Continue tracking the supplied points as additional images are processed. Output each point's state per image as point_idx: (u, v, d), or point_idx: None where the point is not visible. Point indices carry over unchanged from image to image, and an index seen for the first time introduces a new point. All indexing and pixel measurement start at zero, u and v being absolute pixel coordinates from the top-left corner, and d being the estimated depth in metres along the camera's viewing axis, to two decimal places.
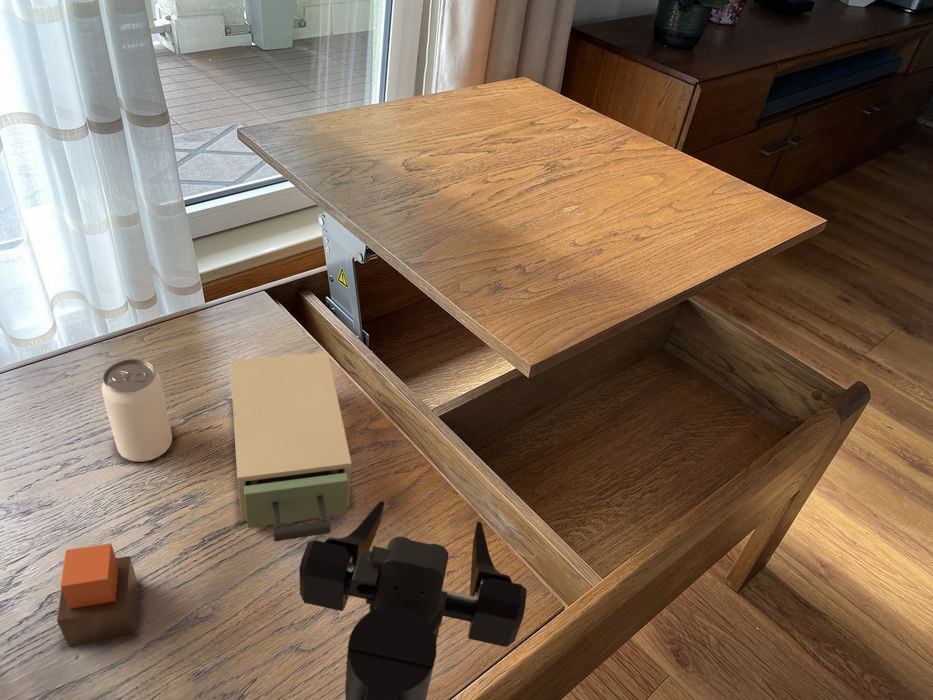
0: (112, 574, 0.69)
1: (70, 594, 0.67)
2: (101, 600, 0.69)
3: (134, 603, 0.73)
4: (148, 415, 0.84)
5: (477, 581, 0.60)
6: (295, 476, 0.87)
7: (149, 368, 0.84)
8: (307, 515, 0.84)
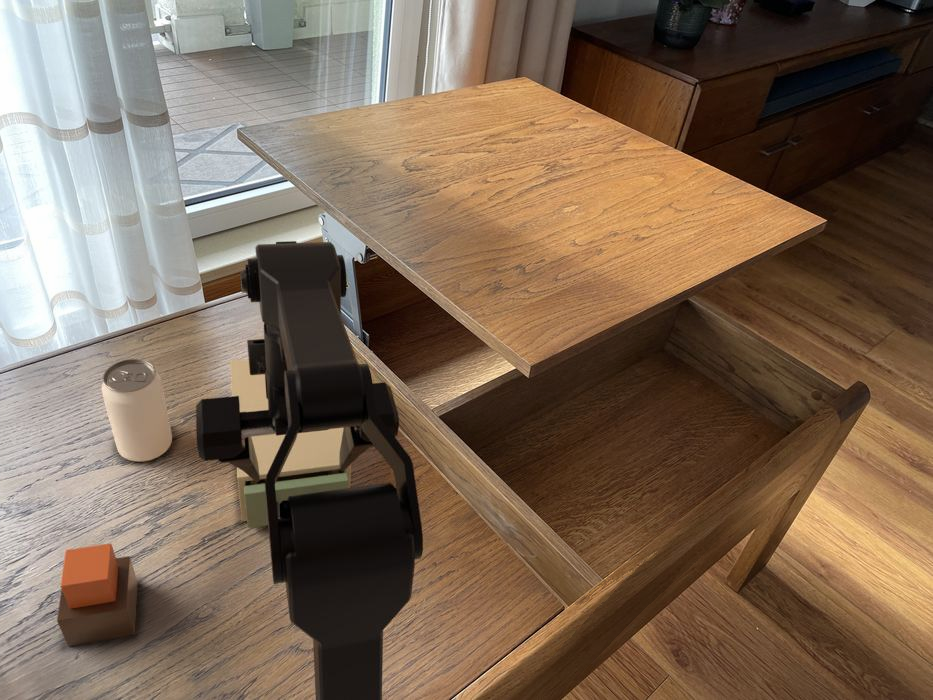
0: (112, 574, 0.69)
1: (70, 594, 0.67)
2: (101, 600, 0.69)
3: (134, 603, 0.73)
4: (148, 415, 0.84)
5: None
6: (295, 476, 0.87)
7: (149, 368, 0.84)
8: None
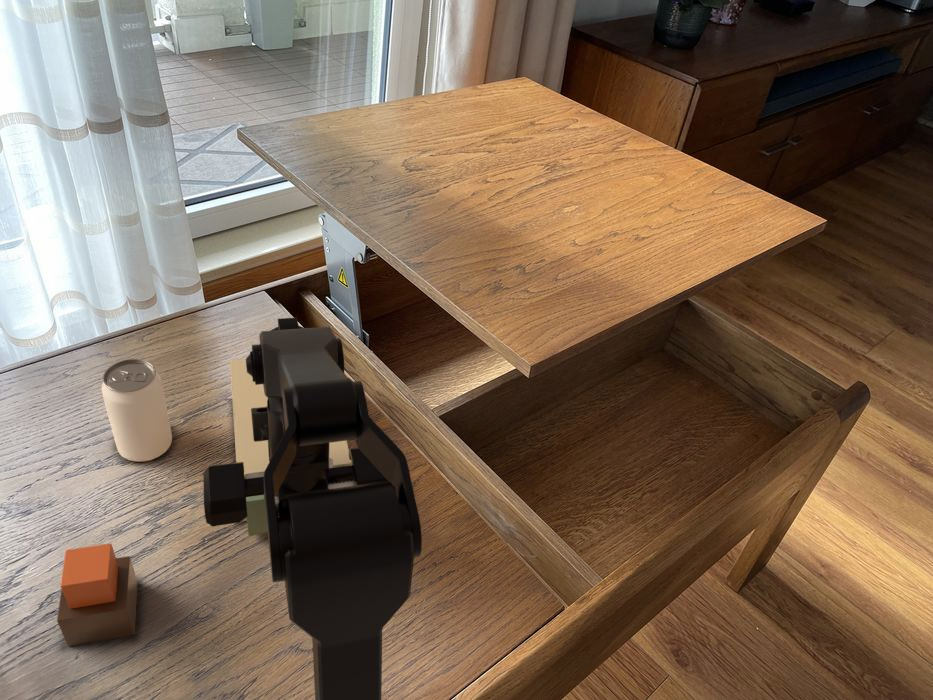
0: (112, 574, 0.69)
1: (70, 594, 0.67)
2: (101, 600, 0.69)
3: (134, 603, 0.73)
4: (148, 415, 0.84)
5: None
6: None
7: (149, 368, 0.84)
8: None
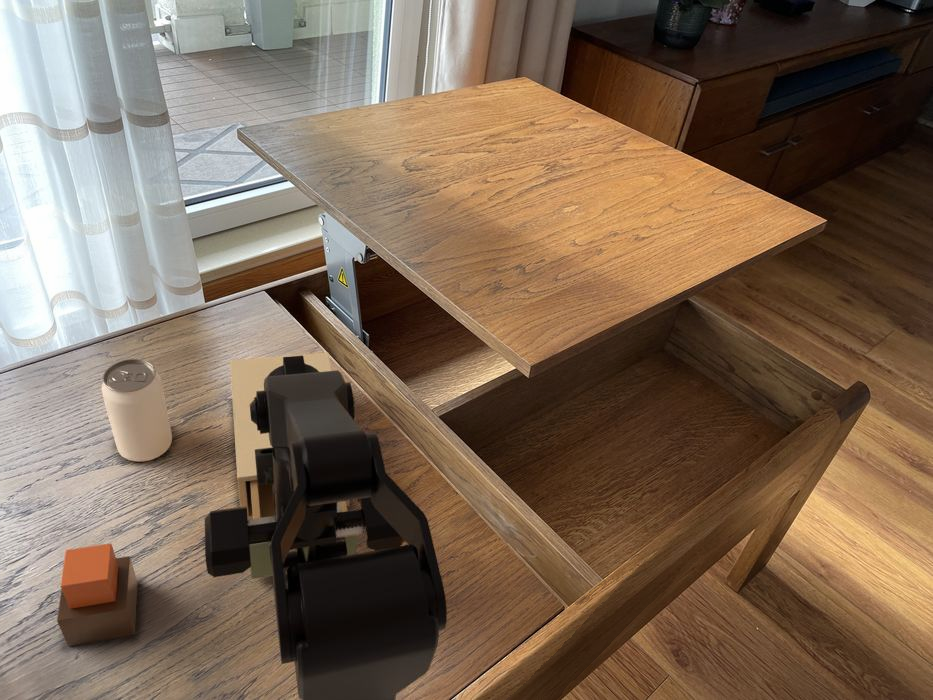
0: (112, 574, 0.69)
1: (70, 594, 0.67)
2: (101, 600, 0.69)
3: (134, 603, 0.73)
4: (148, 415, 0.84)
5: None
6: None
7: (149, 368, 0.84)
8: None
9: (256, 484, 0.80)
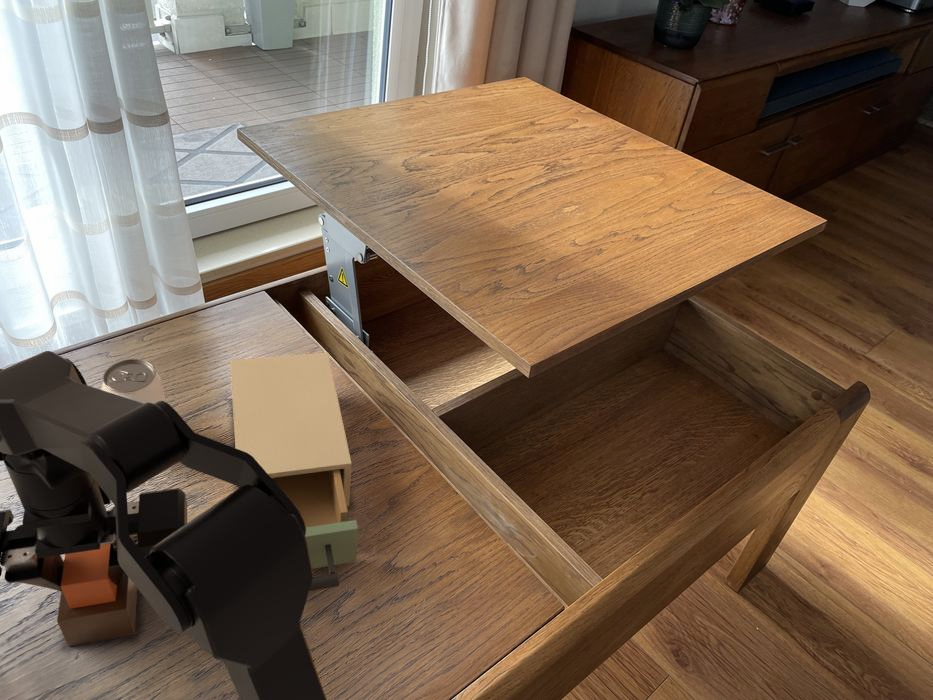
0: None
1: (70, 594, 0.67)
2: (101, 600, 0.69)
3: (134, 603, 0.73)
4: None
5: None
6: None
7: (149, 368, 0.84)
8: (314, 564, 0.79)
9: None
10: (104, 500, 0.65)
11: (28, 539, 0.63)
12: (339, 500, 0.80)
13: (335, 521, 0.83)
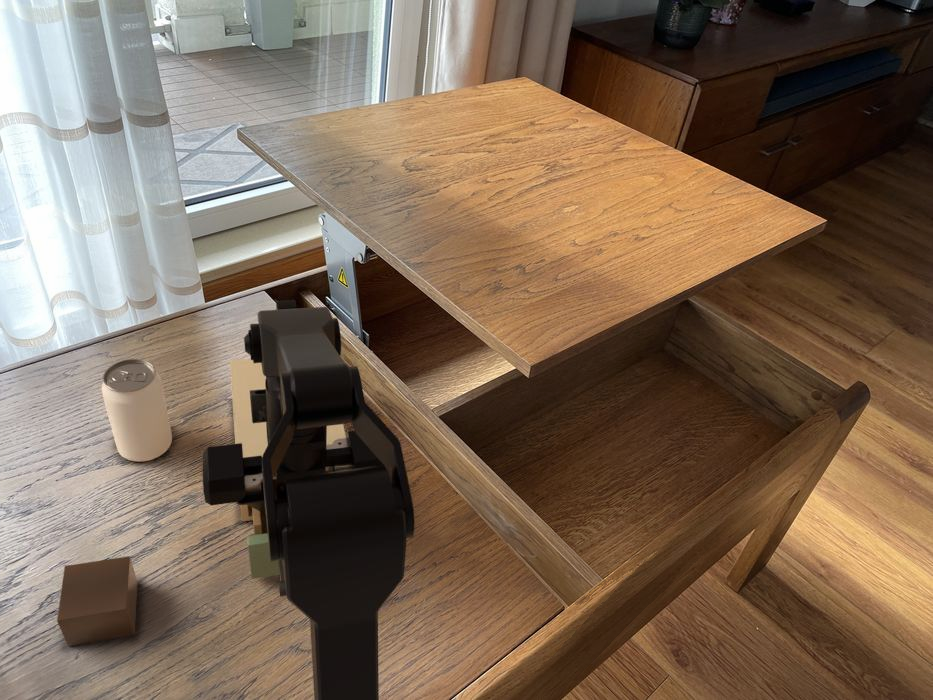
0: None
1: None
2: None
3: (134, 603, 0.73)
4: (148, 415, 0.84)
5: None
6: None
7: (149, 368, 0.84)
8: None
9: None
10: None
11: None
12: None
13: None
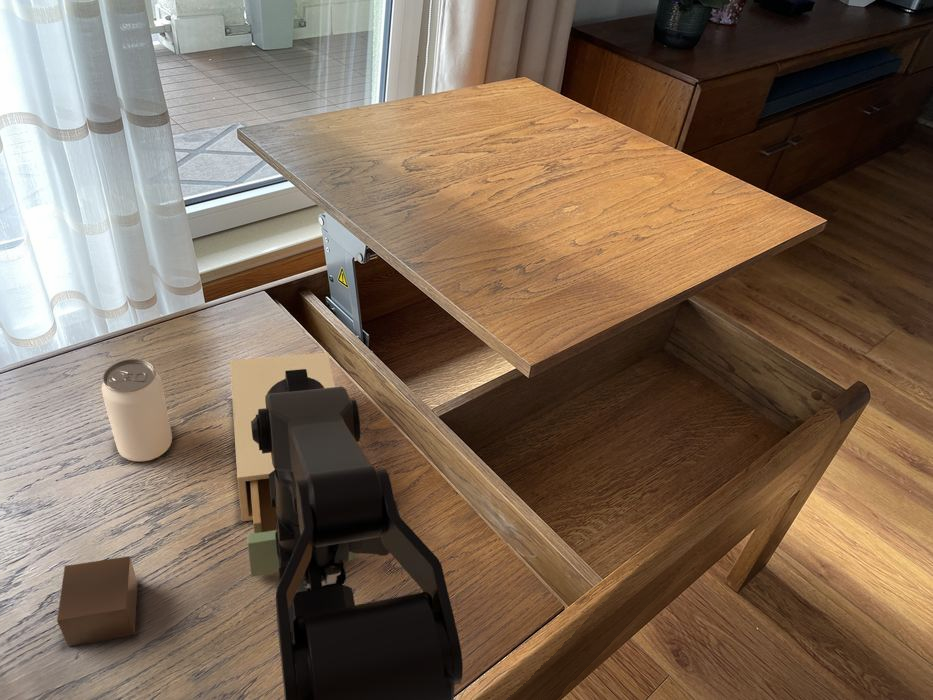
0: None
1: None
2: None
3: (134, 603, 0.73)
4: (148, 415, 0.84)
5: None
6: None
7: (149, 368, 0.84)
8: None
9: (256, 482, 0.80)
10: (333, 555, 0.65)
11: None
12: None
13: None
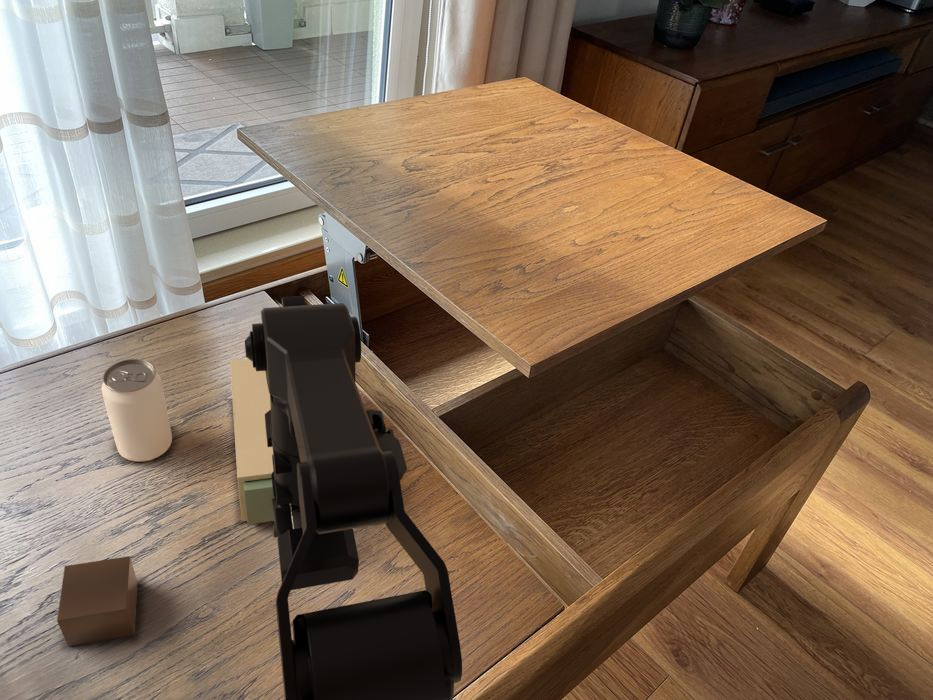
0: None
1: None
2: None
3: (134, 603, 0.73)
4: (148, 415, 0.84)
5: None
6: None
7: (149, 368, 0.84)
8: None
9: None
10: None
11: None
12: None
13: None
